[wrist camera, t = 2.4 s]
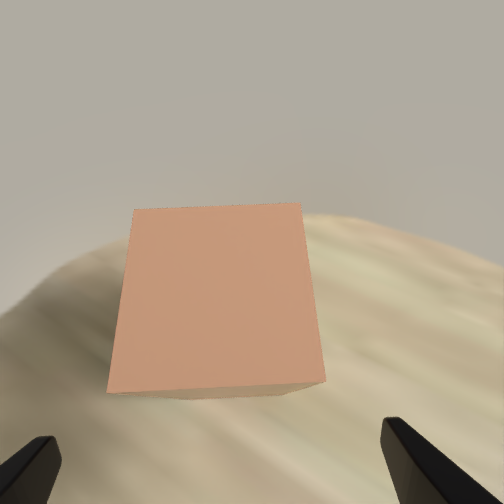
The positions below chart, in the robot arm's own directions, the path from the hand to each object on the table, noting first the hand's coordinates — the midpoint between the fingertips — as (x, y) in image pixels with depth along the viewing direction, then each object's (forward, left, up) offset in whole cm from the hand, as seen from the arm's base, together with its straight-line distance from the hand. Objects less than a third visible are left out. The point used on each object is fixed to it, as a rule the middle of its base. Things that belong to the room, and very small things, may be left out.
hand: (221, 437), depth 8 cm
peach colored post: (+3, +3, -11) cm, 11 cm away
